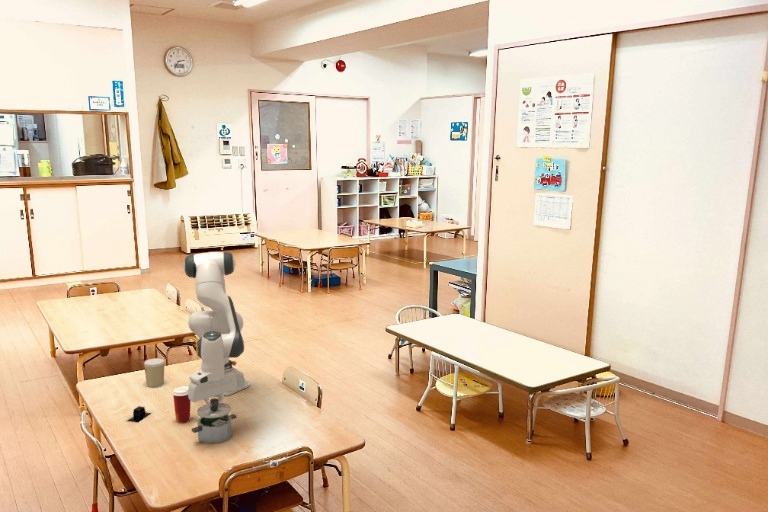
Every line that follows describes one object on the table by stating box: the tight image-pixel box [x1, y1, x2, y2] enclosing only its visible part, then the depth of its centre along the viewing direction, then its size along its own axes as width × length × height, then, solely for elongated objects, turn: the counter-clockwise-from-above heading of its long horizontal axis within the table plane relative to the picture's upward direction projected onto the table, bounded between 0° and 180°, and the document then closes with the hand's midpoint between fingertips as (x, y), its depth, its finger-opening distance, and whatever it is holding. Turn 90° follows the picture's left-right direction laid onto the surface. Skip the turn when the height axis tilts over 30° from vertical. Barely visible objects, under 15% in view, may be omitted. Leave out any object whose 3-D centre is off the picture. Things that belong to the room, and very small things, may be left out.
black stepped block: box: [126, 405, 152, 423], centre depth 254 cm, size 12×7×5 cm, turn 165°
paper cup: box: [171, 385, 192, 424], centre depth 251 cm, size 8×8×14 cm
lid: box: [196, 397, 232, 418], centre depth 236 cm, size 13×13×5 cm
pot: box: [191, 413, 238, 445], centre depth 238 cm, size 19×13×7 cm
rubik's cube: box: [211, 419, 227, 426], centre depth 240 cm, size 5×5×5 cm
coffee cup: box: [143, 357, 166, 389], centre depth 288 cm, size 9×9×12 cm
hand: (213, 405), depth 236 cm, fingers closed on lid, 3 cm apart
